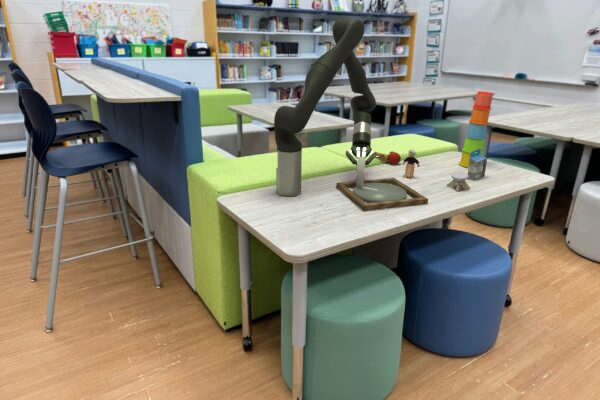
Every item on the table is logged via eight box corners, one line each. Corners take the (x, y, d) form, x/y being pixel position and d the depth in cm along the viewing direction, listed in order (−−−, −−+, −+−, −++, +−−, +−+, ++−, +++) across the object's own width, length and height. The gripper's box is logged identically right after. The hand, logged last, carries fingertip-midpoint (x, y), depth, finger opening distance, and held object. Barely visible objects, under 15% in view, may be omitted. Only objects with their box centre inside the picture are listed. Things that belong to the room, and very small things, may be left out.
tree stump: (450, 182, 181) (452, 169, 179) (472, 187, 176) (475, 173, 174) (443, 188, 174) (445, 175, 172) (466, 193, 169) (468, 179, 167)
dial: (367, 206, 154) (369, 170, 149) (345, 188, 172) (347, 155, 167) (416, 201, 159) (420, 166, 154) (390, 184, 177) (393, 152, 172)
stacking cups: (462, 161, 212) (473, 89, 200) (483, 164, 207) (496, 91, 194) (455, 166, 204) (466, 92, 192) (477, 169, 199) (490, 93, 186)
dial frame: (363, 211, 150) (363, 205, 150) (336, 187, 174) (336, 182, 173) (427, 204, 158) (428, 198, 157) (393, 182, 181) (393, 177, 180)
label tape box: (474, 181, 183) (479, 153, 179) (465, 178, 186) (470, 151, 182) (484, 177, 189) (489, 149, 184) (475, 174, 192) (480, 148, 187)
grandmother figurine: (399, 177, 187) (402, 149, 182) (401, 175, 190) (404, 147, 185) (417, 179, 184) (421, 151, 179) (419, 177, 187) (422, 149, 183)
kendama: (367, 161, 216) (391, 165, 201) (368, 148, 215) (393, 151, 200) (378, 161, 220) (403, 165, 205) (380, 149, 219) (405, 152, 204)
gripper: (345, 130, 174) (343, 167, 167) (378, 131, 172) (377, 169, 165) (345, 140, 180) (343, 176, 173) (377, 141, 179) (376, 178, 172)
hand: (360, 173), depth 169 cm, fingers closed
